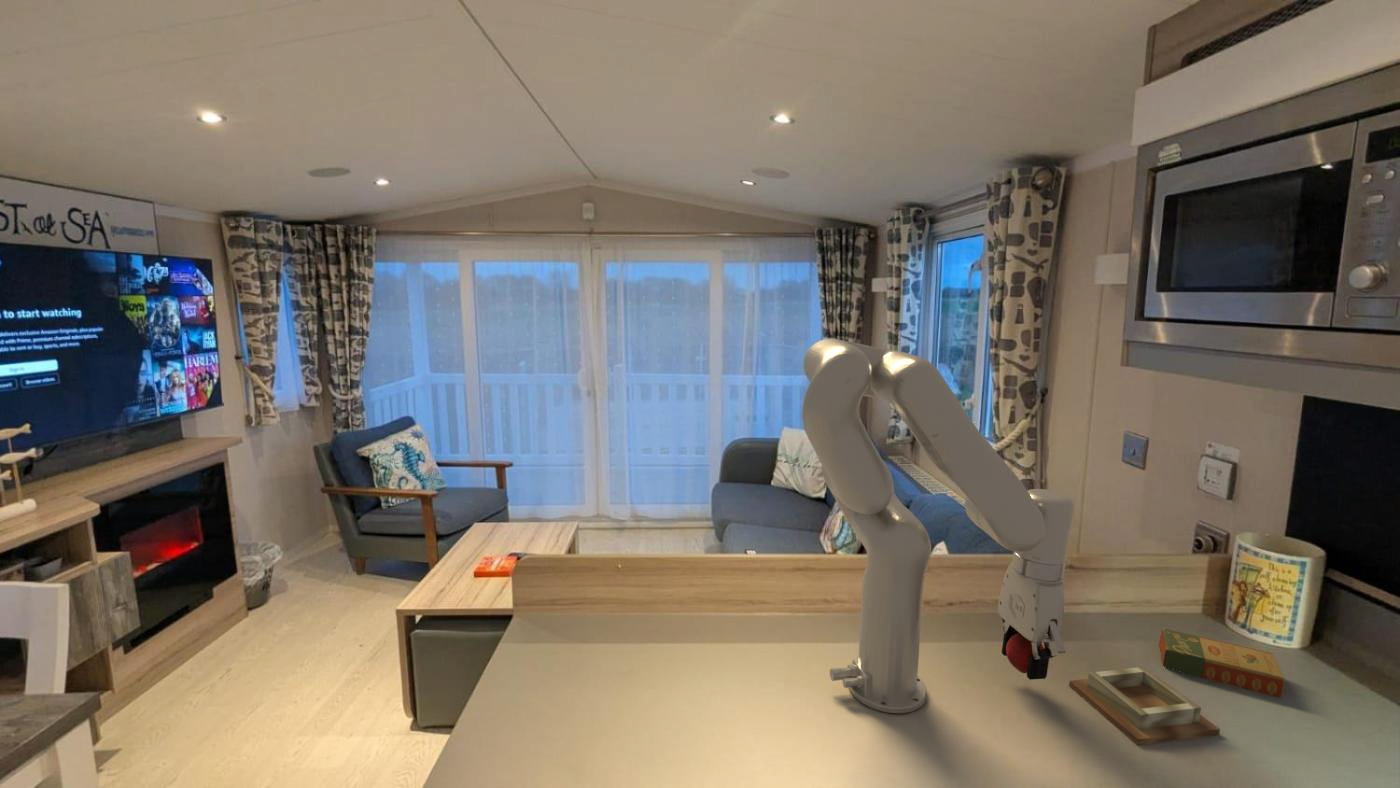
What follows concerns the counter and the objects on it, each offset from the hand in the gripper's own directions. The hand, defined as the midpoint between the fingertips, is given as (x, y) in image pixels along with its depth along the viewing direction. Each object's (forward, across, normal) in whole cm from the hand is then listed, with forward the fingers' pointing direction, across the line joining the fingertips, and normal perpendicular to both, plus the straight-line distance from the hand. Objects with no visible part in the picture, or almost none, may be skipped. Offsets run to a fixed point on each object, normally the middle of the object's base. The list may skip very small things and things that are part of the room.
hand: (1023, 665), depth 106 cm
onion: (+2, 0, 0) cm, 2 cm away
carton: (+3, +1, +37) cm, 37 cm away
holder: (+3, +8, +15) cm, 18 cm away
